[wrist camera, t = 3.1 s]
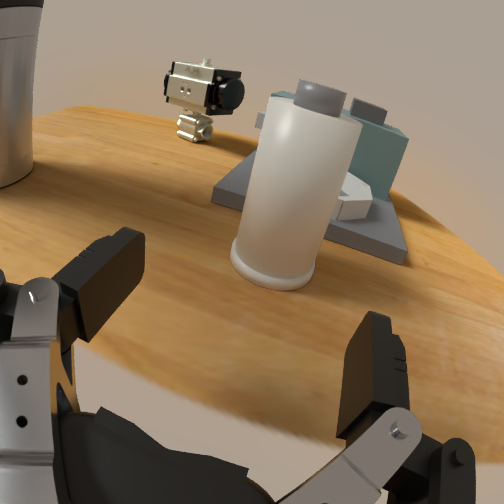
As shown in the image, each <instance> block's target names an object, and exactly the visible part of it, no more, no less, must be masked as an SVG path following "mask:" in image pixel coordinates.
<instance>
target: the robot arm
mask: <svg viewBox="0 0 504 504" xmlns="http://www.w3.org/2000/svg"><path fill="white" fill-rule="evenodd" d="M43 3H44V0H0V187H4V186H6V185H9V184H12V183H14V182H16V181H18V180H20V179H21V178H23V177H25V176H26V175H27V174H28V173H29V172H30V171H31V170H32V168H33V150H32V101H33V82H34V67H35V58H36V48H37V41H38V32H39V25H40V20H41V14H42V8H43ZM144 265H145V235H144V233H142V232H139V231H136V230H133V229H130V228H128V227H123V228H121V229H120V230H119V231H118V232H116V233H115V234H114V235H113V236H109V235H108V236H106V237H103V238H101V239H98V240H96V241H94V242H93V243H92V244H91V245H89V246H88V247H87V248H86V250H83V251H82V252H81V253H80V254H79V256H76V257H75V258H74V259H73V260H72V261H70V262H69V263H68V264H67V265H66V266H65V267H63V268H62V269H61V270H60V271H59V272H58V273H57V274H55V275H54V276H53V277H52V278H51V279H49V278H44V277H40V278H35V279H32V280H30V281H28V282H26V283H25V284H24V285H23V286H22V285H18V284H13V283H8V282H6V279H5V276H4V273H3V271H2V270H1V269H0V504H374V503H375V502H376V501H377V500H378V498H379V497H380V496H381V491H380V490H381V488H383V489H385V490H387V491H389V492H388V499H387V504H475V501H476V471H475V455H474V452H473V450H472V448H471V446H470V445H469V444H468V443H467V442H466V441H464V440H463V439H460V438H452V439H450V440H448V441H447V442H445V443H444V444H442V443H440V442H438V441H436V440H434V439H432V438H430V437H428V436H426V435H425V434H423V433H422V428H421V425H420V422H419V420H418V419H417V417H416V416H415V415H414V414H413V413H412V412H410V405H409V388H408V374H407V363H406V353H405V347H404V345H403V343H402V341H401V339H400V337H399V335H395V334H392V326H391V319H390V317H388V316H385V315H382V314H379V313H376V312H373V311H368V312H367V314H366V315H365V317H364V318H363V320H362V322H361V323H360V325H359V327H358V328H357V330H356V332H355V333H354V335H353V337H352V338H351V340H350V342H349V344H348V346H347V349H346V352H345V358H344V369H343V380H342V390H341V399H340V408H339V416H338V424H337V432H336V438H339V439H344V440H346V448H345V449H344V450H343V451H341V452H340V453H339V454H338V455H337V456H336V457H334V458H333V459H332V460H331V461H330V462H329V463H327V464H326V465H325V466H324V467H323V468H321V469H320V470H319V471H318V472H316V473H315V474H314V475H313V476H311V477H310V478H309V479H307V480H306V481H305V482H303V483H302V484H301V485H299V486H298V487H297V488H295V489H294V490H292V491H291V492H290V493H288V494H287V495H285V496H284V497H283V498H281V499H280V500H278V501H277V502H274V500H273V499H272V498H271V496H270V495H269V494H268V493H267V492H266V491H265V490H264V489H263V488H262V487H261V486H259V485H258V484H257V483H255V482H254V481H253V480H251V479H249V478H248V477H246V476H247V473H248V470H249V469H248V468H245V467H242V466H239V465H236V464H233V463H230V462H227V461H224V460H221V459H218V458H215V457H212V456H208V455H200V454H193V453H186V452H180V451H175V450H169V449H167V448H165V447H163V446H162V445H161V444H159V443H158V442H157V441H155V440H154V439H153V438H151V437H150V436H149V435H147V434H146V433H145V432H144V431H143V430H141V429H140V428H139V427H137V426H136V425H135V424H134V423H132V422H130V421H128V420H126V419H124V418H122V417H120V416H118V415H116V414H114V413H112V412H111V411H109V410H107V409H105V408H103V407H100V409H99V410H98V412H97V413H96V414H94V413H88V412H81V411H80V406H79V403H78V399H77V394H76V383H75V366H74V345H73V342H74V341H75V340H76V339H77V338H80V339H82V340H83V341H85V342H87V343H89V342H90V341H91V339H92V338H93V337H94V336H95V335H96V333H97V332H98V331H99V330H100V328H101V327H102V326H103V325H104V324H105V322H106V321H107V320H108V319H109V318H110V317H111V315H112V314H113V313H114V312H115V311H116V309H117V308H118V307H119V306H120V305H121V304H122V302H123V301H124V300H125V299H126V298H127V297H128V295H129V294H130V293H131V292H132V291H133V290H134V289H135V287H136V286H137V285H138V284H139V282H140V281H141V279H142V276H143V273H144Z"/></svg>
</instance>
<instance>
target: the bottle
mask: <svg viewBox="0 0 504 504" xmlns="http://www.w3.org/2000/svg"><path fill="white" fill-rule="evenodd" d="M346 94H347V93H345V92H342V91H339V90H337V89H334V88H330V87H327V86H324V85H320V84H317V83H313V82H309V81H305V80H301V79H299V82H298V86H297V90H296V94H295V98H294V99H289V98H283V97H269V101H268V105H267V109H266V113H265V117H264V122H263V126H262V130H261V135H260V138H259V143H258V147H257V151H256V155H255V160H254V164H253V168H252V173H251V177H250V181H249V186H248V190H247V194H246V199H245V203H244V207H243V212H242V216H241V221H240V225H239V230H238V234H237V237H236V238H235V239H234V241H233V243H232V248H231V253H230V260H231V263H232V265H233V267H234V268H235V270H236V271H237V272H238V273H239V274H240V275H241V276H243V277H244V278H245V279H247V280H248V281H250V282H252V283H254V284H256V285H259V286H261V287H264V288H268V289H273V290H282V291H286V290H294V289H298V288H301V287H303V286H304V285H306V284H307V283H308V282H309V280H310V279H311V276H312V274H313V271H314V269H315V259H316V256H317V253H318V251H319V248H320V246H321V243H322V240H323V238H324V235H325V232H326V230H327V227H328V224H329V222H330V219H331V216H332V214H333V211H334V208H335V205H336V203H337V200H338V197H339V194H340V191H341V189H342V186H343V183H344V180H345V177H346V174H347V171H348V169H349V166H350V163H351V160H352V157H353V154H354V151H355V148H356V145H357V142H358V139H359V136H360V133H361V129H362V126H363V125H362V124H361V123H360V122H358V121H357V120H355V119H353V118H351V117H348V116H346V115H344V114H341V111H342V108H343V105H344V101H345V98H346Z"/></svg>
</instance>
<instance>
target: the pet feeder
mask: <svg viewBox="0 0 504 504" xmlns="http://www.w3.org/2000/svg"><path fill="white" fill-rule="evenodd" d="M271 97H283V98H289V99H294V98H295V94H292V93H289V92H285V91H281V92H277V93H272V94H271ZM265 113H266V112H265V111H260V112H258V115H257V119H256V124H255V128H259V129H262V126H263V122H264V117H265ZM341 114H344V115H346V116H348V117H351V118H353V119H355V120H357V121H358V122H360V123H361V124H362V125H363V126H362V129H361V133H360V136H359V139H358V142H357V145H356V148H355V151H354V154H353V157H352V160H351V163H350V166H349V169H348V171H347V174H346V177H345V180H344V183H343V186H342V189H341V191H340V194H339V197H338V200H337V203H336V205H335V208H334V211H333V214H332V216H331V219H330V222H329V224H328V227H327V230H326V232H325V235H324V238H325V239H328V240H331V241H334V242H337V243H340V244H343V245H345V246H348V247H351V248H354V249H357V250H360V251H363V252H365V253H368V254H371V255H374V256H377V257H380V258H382V259H385V260H388V261H391V262H393V263H396V264H399V265H401V264H402V262H403V260H404V258H405V256H406V254H407V252H408V250H407V247H406V244H405V240H404V237H403V234H402V231H401V228H400V224H399V221H398V218H397V215H396V212H395V209H394V206H393V203H392V201H391V198H390V195H389V191H390V188H391V186H392V183H393V180H394V178H395V175H396V173H397V170H398V168H399V165H400V162H401V160H402V157H403V154H404V152H405V149H406V146H407V143H408V141H409V139H408V138H407V137H406V136H405V135H404V134H403V133H402V132H401V131H400V130H399V129H397V128H394V127H392V126H389V125H386V124H384V121H385V118H386V114H387V111H386V110H385V109H384V108H381V107H378V106H375V105H373V104H370V103H367V102H365V101H362V100H359V99H356V98H353V101H352V105H351V108H350V111H348V110H345V109H343V108H342V111H341ZM256 151H257V149H256V150H254V151H253V152H252V153H251V154H250V155H249V156H247V157H246V158H245V159H244V160H243V161H242V162H241V163H239V164H238V165H237V166H236V167H235V168H234V169H233V170H232V171H230V172H229V173H228V174H227V175H226V176H225V177H224V178H223V179H222V180H220V181H219V182H218V183H217V184H216V185H215V186H214V188H213V194H212V199H211V202H214V203H217V204H220V205H224V206H227V207H230V208H233V209H236V210H239V211H243V207H244V203H245V199H246V194H247V190H248V186H249V181H250V177H251V173H252V168H253V164H254V160H255V155H256Z"/></svg>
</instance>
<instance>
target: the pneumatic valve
mask: <svg viewBox="0 0 504 504" xmlns="http://www.w3.org/2000/svg"><path fill="white" fill-rule="evenodd" d="M210 62H211V59H208V58H204V61H203V63H202V64H198V63H187V62H172V68H171V70H170V71H169V72H168V73H167V74H166V76H165V79H164V87H165V89H164V95H165V96H167V98H166V102H168V103H171V104H174V105H178V106H181V107H184V111H187V110H190V111H193V115H185V114H182V115H180V119H179V120H178V123H177V126H178V129H179V131H178V132H177V135H178V136H179V137H181V138H184V139H186V140H188V141H191V142H193V143H194V142H197V141H201V140H205V141H207V140H209V139H210V137H211V135H212V133H213V127H212V125H211V124H212V123H213V120H212V118H209V117H206V116H203V115H201V113H203V114H206V115H209V116H211V115H230V114H232V113H233V110H234V109H236V108H237V107H238V106H239V105H240V104H241V102H242V100H243V98H244V93H245V92H244V91H245V90H244V85H243V83H242V82H241V79H240V77H241V72H239V71H234V70H229V69H225V68H220V67H214V66H211V65H210Z"/></svg>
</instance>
